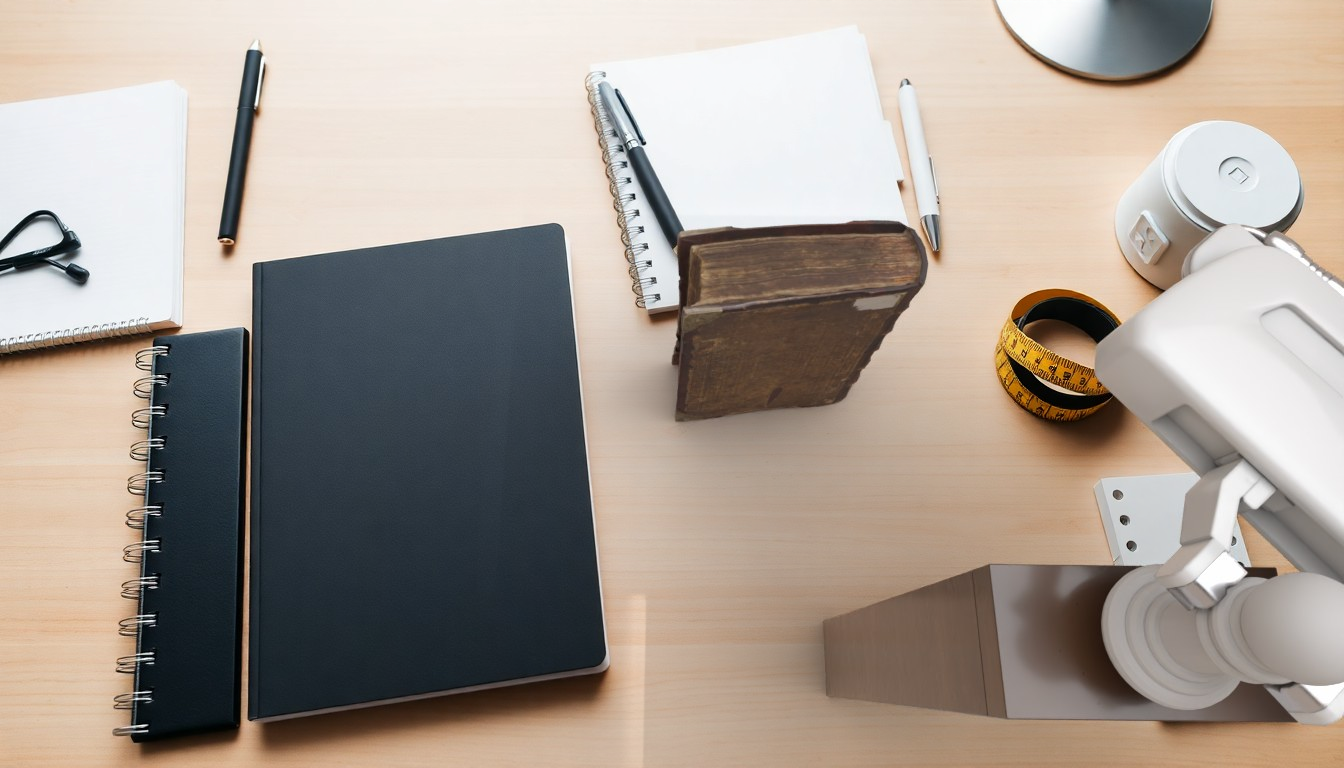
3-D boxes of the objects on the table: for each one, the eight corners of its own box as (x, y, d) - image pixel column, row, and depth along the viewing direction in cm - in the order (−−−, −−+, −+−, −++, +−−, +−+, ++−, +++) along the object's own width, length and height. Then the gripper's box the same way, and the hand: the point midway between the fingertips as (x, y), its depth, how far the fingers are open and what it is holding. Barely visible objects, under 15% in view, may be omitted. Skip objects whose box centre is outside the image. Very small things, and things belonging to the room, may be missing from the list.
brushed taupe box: (964, 622, 70) (1276, 567, 34) (972, 698, 68) (1312, 722, 32) (823, 620, 70) (988, 563, 34) (826, 696, 68) (1006, 719, 32)
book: (848, 354, 78) (927, 216, 55) (853, 426, 76) (938, 315, 52) (671, 353, 78) (674, 215, 55) (671, 426, 76) (674, 313, 52)
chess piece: (1265, 655, 32) (1482, 647, 23) (1165, 739, 31) (1355, 763, 22) (1165, 539, 33) (1335, 492, 25) (1067, 616, 32) (1210, 594, 24)
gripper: (1299, 157, 30) (1040, 386, 27) (1869, 610, 25) (1626, 957, 22) (1194, 243, 36) (972, 439, 33) (1635, 623, 31) (1419, 897, 28)
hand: (1236, 649), depth 27 cm, fingers closed on chess piece, 3 cm apart
